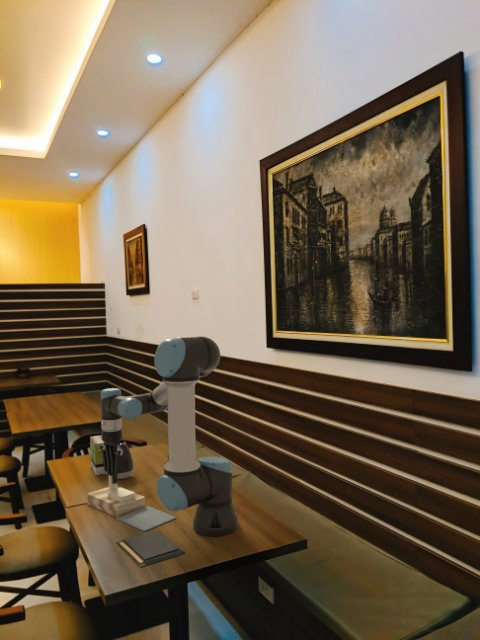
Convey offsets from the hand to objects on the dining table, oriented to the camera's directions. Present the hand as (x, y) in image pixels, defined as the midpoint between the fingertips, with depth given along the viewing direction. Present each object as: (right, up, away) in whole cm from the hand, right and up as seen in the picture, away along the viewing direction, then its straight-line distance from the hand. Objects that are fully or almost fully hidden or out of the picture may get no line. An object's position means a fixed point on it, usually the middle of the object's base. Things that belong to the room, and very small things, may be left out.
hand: (113, 491), depth 192 cm
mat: (+15, -5, -13) cm, 21 cm away
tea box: (-15, -5, +43) cm, 46 cm away
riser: (+1, -5, -1) cm, 5 cm away
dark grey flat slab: (+20, -6, -35) cm, 41 cm away
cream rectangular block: (+4, -1, -3) cm, 5 cm away
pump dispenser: (-4, -5, +32) cm, 33 cm away
